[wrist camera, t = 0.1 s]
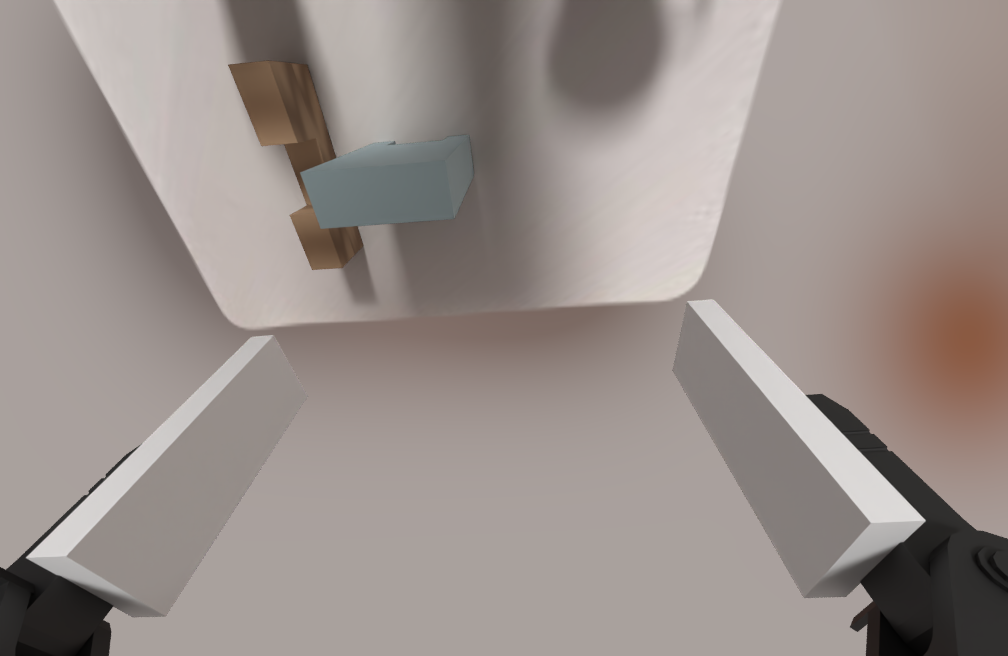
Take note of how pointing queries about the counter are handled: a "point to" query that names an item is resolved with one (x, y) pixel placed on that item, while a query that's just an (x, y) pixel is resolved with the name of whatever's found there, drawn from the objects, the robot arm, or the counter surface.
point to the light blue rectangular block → (391, 183)
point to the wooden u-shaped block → (296, 146)
